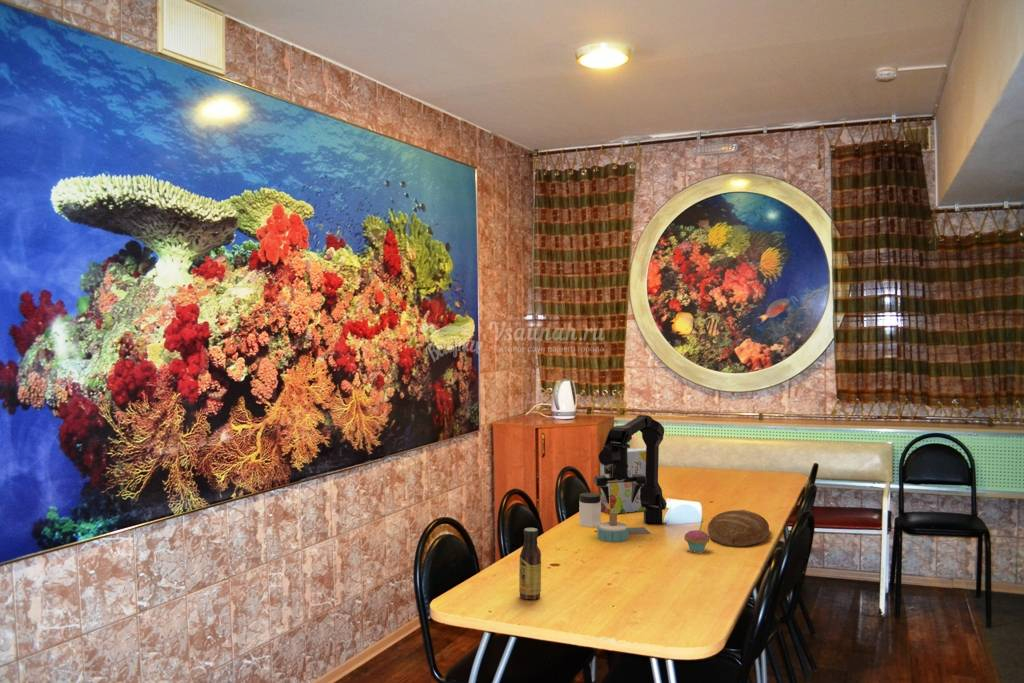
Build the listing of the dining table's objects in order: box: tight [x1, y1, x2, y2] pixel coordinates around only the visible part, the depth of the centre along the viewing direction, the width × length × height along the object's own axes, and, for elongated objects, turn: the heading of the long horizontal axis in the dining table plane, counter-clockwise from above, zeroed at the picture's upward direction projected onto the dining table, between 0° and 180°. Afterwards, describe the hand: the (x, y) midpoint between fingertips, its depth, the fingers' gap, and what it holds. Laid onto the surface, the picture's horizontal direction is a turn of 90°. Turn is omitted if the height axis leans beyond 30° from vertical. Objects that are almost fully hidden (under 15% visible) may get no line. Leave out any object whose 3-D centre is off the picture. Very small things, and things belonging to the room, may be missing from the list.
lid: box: [598, 513, 628, 532], centre depth 312 cm, size 10×10×5 cm
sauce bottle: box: [518, 527, 542, 600], centre depth 245 cm, size 6×6×20 cm
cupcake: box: [683, 517, 711, 553], centre depth 296 cm, size 9×8×12 cm
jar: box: [578, 492, 602, 528], centre depth 333 cm, size 9×8×12 cm
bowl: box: [596, 526, 630, 543], centre depth 312 cm, size 11×11×4 cm
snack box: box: [599, 447, 646, 515], centre depth 359 cm, size 22×9×26 cm, turn 115°
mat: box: [628, 526, 652, 535], centre depth 323 cm, size 10×10×1 cm
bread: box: [707, 509, 770, 547], centre depth 319 cm, size 22×37×8 cm, turn 159°
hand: (620, 503), depth 316 cm, fingers open, 9 cm apart
